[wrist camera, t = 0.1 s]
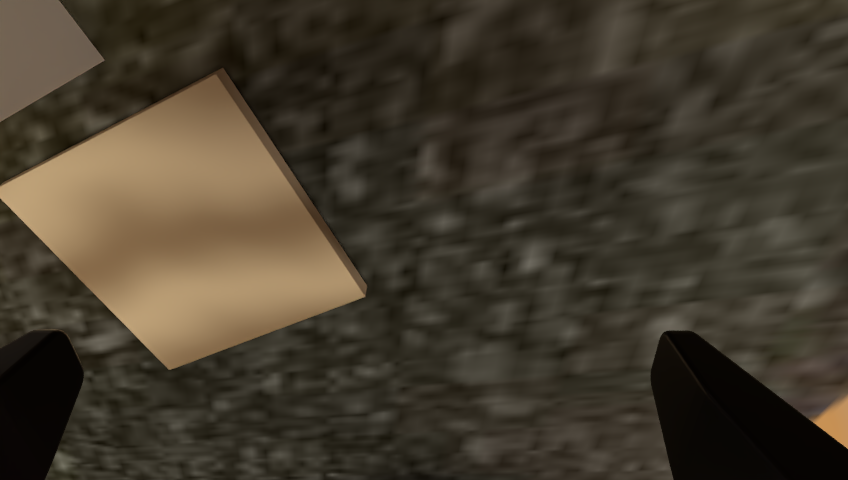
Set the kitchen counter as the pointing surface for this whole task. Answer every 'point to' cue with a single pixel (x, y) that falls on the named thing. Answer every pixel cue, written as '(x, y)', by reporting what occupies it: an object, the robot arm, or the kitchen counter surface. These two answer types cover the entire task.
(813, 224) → the kitchen counter surface
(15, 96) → the beige upright block
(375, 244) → the kitchen counter surface
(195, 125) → the coaster
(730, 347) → the kitchen counter surface
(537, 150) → the kitchen counter surface
